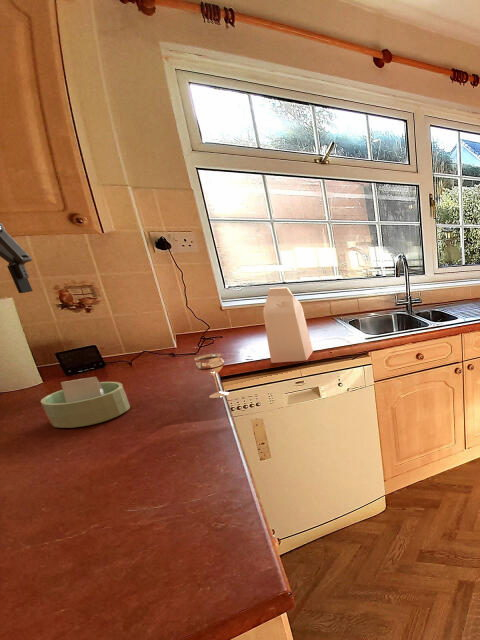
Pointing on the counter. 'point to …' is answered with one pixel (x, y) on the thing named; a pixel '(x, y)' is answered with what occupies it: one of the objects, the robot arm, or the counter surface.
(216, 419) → the counter surface
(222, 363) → the wineglass
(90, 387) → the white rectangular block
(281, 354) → the milk
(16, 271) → the robot arm
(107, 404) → the bowl
